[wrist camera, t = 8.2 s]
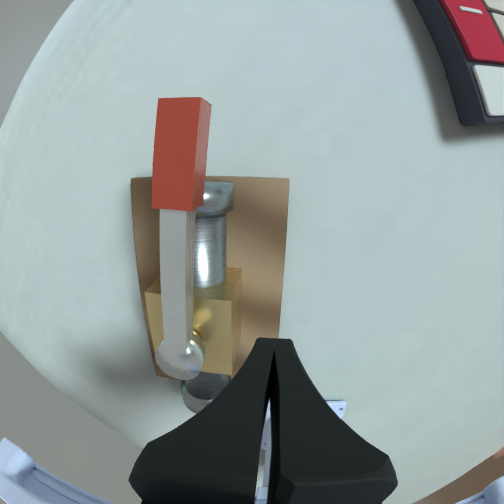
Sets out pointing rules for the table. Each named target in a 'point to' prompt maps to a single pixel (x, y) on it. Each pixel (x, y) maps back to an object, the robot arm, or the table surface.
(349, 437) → the robot arm
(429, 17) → the calculator
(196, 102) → the lever
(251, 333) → the board
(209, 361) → the valve
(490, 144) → the table surface
